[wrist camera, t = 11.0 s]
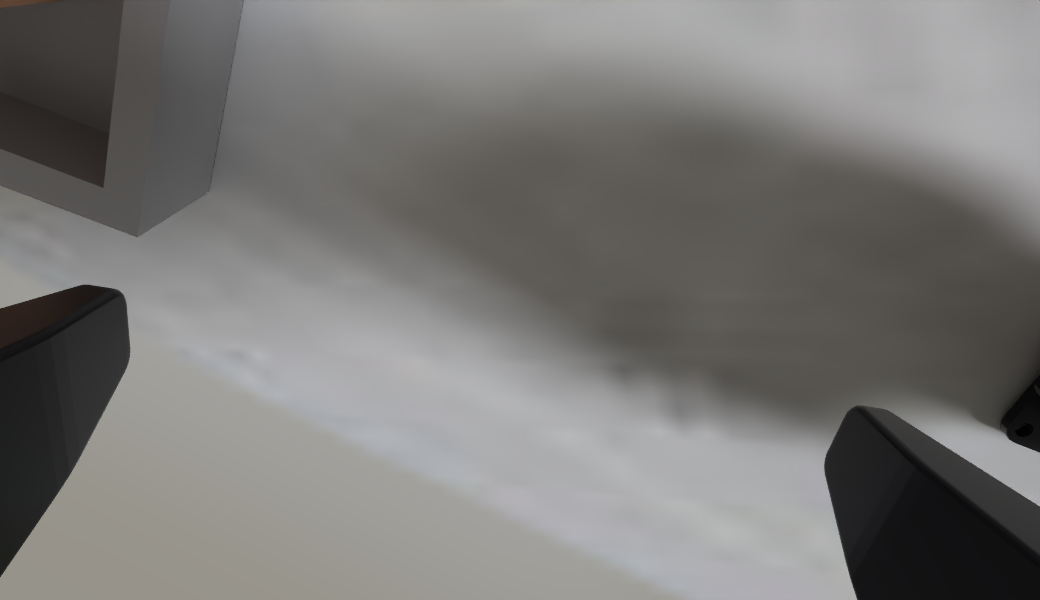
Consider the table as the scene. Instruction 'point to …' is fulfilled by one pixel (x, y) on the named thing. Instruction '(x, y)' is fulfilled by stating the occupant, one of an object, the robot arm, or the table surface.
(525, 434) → the table surface
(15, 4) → the terracotta block
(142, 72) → the box
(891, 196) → the table surface
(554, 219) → the table surface
